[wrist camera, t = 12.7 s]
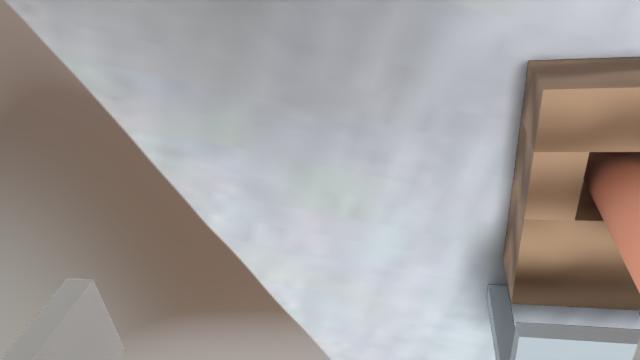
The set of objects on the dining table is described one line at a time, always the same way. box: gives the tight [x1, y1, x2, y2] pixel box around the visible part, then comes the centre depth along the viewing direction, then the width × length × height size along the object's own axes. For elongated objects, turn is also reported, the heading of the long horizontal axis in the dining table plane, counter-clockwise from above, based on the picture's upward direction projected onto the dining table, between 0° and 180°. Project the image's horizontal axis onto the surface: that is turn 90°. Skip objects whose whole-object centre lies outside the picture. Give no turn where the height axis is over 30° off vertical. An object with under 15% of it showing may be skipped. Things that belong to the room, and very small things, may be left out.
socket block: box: [503, 57, 640, 310], centre depth 36 cm, size 18×12×5 cm, turn 6°
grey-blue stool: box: [487, 285, 640, 360], centre depth 38 cm, size 9×14×12 cm, turn 95°
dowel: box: [584, 152, 640, 293], centre depth 31 cm, size 4×4×14 cm
